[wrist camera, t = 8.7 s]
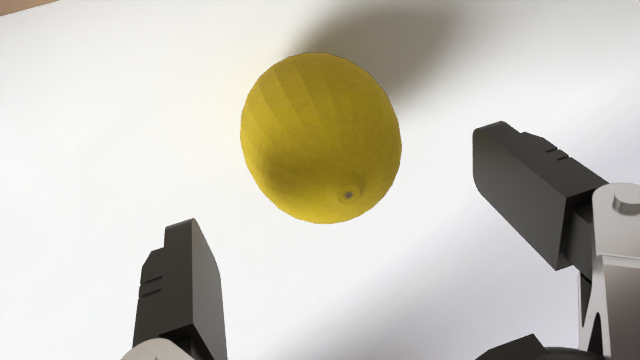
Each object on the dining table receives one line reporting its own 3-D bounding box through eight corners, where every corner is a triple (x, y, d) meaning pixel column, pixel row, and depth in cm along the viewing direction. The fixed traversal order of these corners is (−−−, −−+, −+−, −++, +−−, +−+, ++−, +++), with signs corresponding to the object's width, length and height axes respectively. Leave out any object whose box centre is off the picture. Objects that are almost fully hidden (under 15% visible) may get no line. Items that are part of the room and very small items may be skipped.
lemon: (363, 26, 19) (454, 99, 12) (354, 145, 21) (424, 256, 15) (227, 31, 17) (245, 114, 11) (238, 156, 20) (257, 280, 14)
